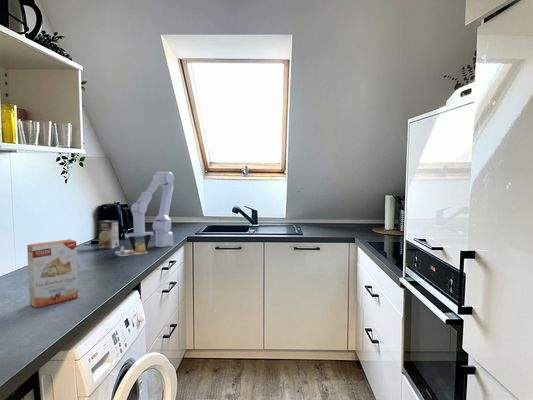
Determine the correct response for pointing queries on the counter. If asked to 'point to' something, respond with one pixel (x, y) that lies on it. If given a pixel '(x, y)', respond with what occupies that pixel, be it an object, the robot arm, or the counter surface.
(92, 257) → the counter surface
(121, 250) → the steel hub
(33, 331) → the counter surface
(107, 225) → the coffee box
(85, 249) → the counter surface
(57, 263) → the cracker box
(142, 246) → the bronze ring
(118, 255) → the maple board
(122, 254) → the hub pad
